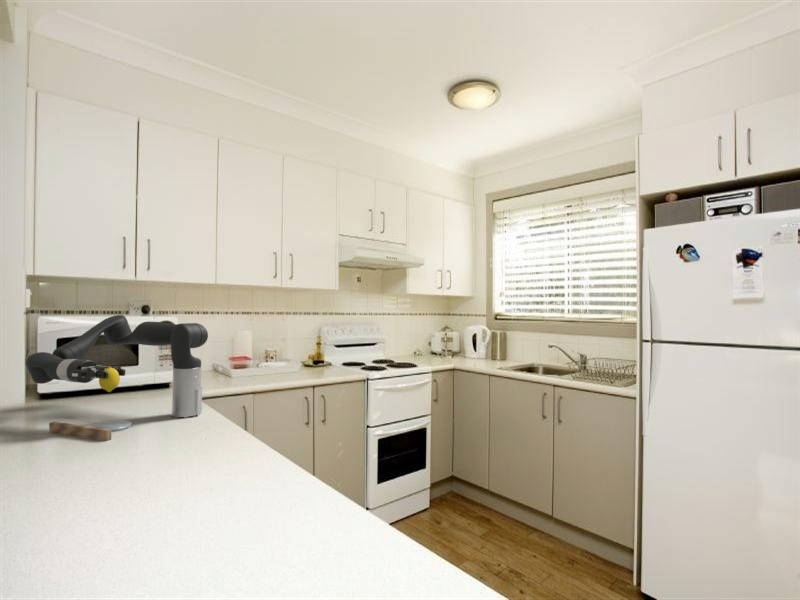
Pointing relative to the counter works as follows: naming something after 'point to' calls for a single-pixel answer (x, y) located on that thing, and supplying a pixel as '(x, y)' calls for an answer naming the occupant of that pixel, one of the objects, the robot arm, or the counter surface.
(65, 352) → the robot arm
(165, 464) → the counter surface
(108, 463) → the counter surface
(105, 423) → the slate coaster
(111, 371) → the lemon
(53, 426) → the walnut wall
